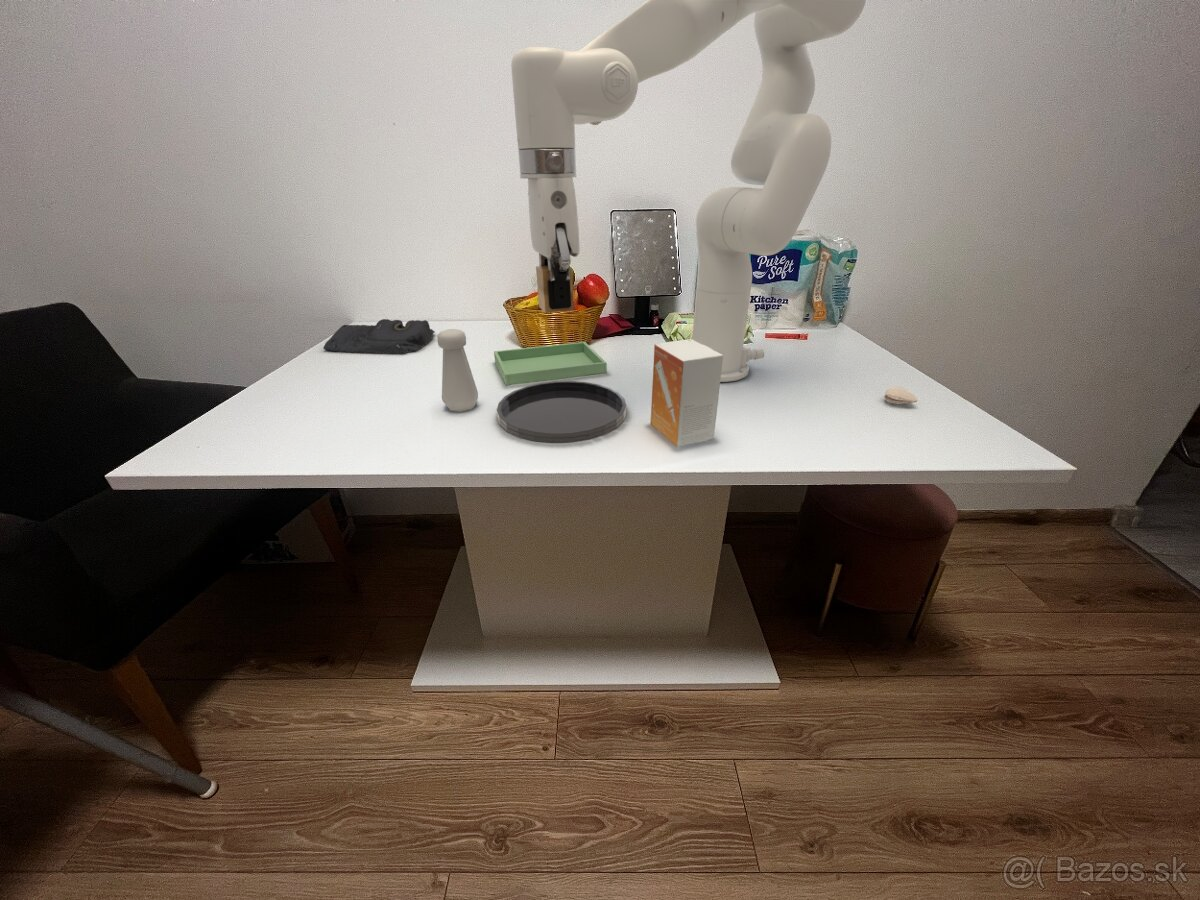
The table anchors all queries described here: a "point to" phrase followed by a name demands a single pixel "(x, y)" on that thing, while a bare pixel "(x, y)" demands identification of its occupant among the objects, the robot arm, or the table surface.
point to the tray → (548, 363)
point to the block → (543, 289)
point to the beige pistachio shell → (899, 396)
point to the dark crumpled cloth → (381, 337)
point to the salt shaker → (456, 372)
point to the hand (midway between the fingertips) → (556, 303)
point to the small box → (685, 391)
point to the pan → (561, 411)
